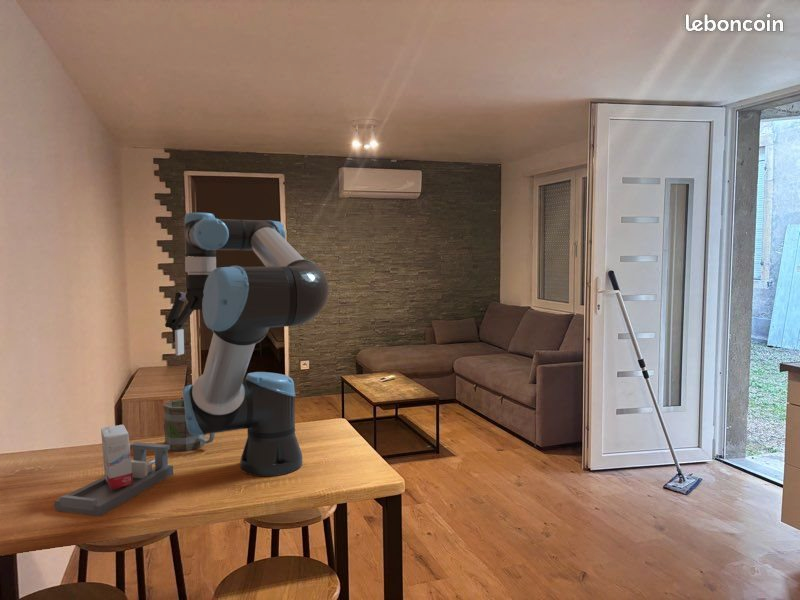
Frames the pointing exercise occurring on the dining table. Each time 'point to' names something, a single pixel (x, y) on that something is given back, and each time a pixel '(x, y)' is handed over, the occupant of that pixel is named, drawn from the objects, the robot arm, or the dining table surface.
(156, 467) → the lane
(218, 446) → the dining table surface
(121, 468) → the ink box
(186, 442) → the mug
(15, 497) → the dining table surface
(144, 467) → the pusher
